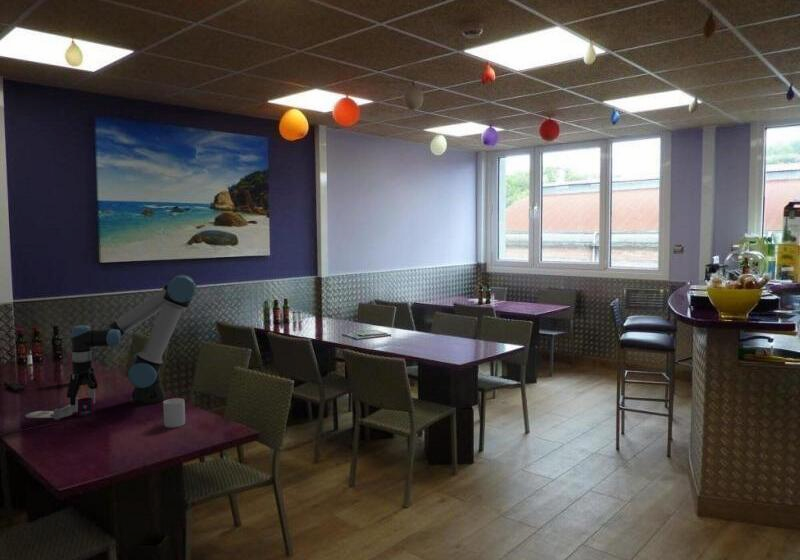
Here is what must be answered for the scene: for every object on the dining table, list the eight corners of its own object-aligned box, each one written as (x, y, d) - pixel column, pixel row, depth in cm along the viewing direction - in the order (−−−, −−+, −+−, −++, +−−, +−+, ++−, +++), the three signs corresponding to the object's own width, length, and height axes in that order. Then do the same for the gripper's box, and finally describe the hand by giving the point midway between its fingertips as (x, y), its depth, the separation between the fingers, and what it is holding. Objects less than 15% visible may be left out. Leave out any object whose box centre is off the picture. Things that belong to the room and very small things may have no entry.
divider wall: (81, 407, 275) (81, 398, 275) (58, 419, 258) (57, 409, 257) (78, 407, 275) (77, 398, 275) (54, 419, 258) (53, 409, 257)
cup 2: (167, 429, 244) (166, 404, 243) (159, 421, 253) (158, 398, 253) (187, 425, 249) (186, 401, 248) (179, 418, 258) (178, 395, 257)
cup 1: (76, 417, 260) (76, 402, 259) (75, 412, 269) (74, 397, 268) (94, 415, 263) (93, 400, 263) (92, 409, 272) (91, 395, 271)
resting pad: (77, 411, 269) (77, 411, 269) (65, 418, 260) (65, 417, 260) (34, 411, 270) (34, 410, 270) (20, 417, 261) (20, 417, 261)
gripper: (89, 354, 277) (90, 399, 278) (56, 366, 252) (57, 415, 253) (105, 355, 276) (106, 400, 278) (73, 366, 251) (75, 416, 253)
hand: (83, 407), depth 266 cm, fingers open, 13 cm apart
